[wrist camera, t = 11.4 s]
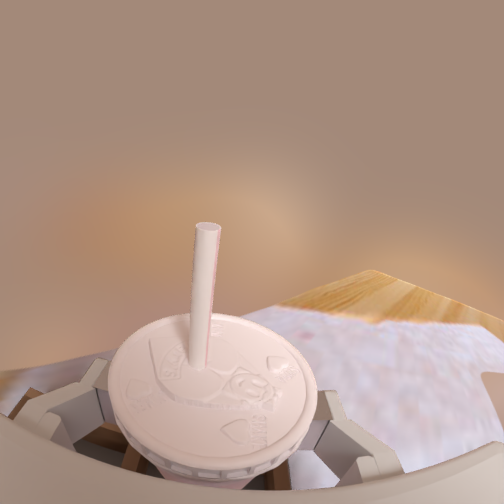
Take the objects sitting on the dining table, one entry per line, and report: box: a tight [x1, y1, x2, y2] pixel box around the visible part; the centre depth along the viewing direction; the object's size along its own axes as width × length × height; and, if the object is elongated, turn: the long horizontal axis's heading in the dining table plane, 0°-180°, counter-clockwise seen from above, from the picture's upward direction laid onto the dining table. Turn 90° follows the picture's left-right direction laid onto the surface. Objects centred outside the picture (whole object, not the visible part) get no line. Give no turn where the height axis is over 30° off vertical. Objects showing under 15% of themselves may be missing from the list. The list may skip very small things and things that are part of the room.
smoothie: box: [108, 222, 317, 490], centre depth 9 cm, size 6×6×14 cm
